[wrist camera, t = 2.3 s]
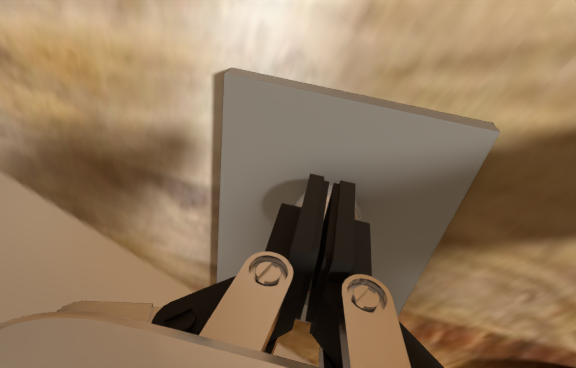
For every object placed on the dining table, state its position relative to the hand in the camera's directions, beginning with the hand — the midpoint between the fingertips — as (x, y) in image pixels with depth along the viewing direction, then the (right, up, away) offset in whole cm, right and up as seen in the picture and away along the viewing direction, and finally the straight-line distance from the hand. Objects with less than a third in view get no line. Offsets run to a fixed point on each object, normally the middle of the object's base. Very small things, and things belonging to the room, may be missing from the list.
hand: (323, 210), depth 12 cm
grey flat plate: (+2, -3, +17) cm, 17 cm away
